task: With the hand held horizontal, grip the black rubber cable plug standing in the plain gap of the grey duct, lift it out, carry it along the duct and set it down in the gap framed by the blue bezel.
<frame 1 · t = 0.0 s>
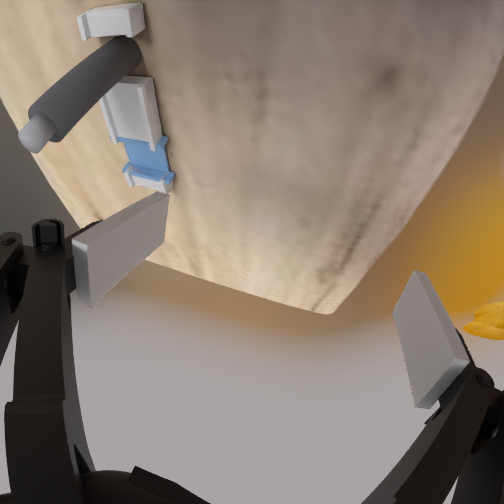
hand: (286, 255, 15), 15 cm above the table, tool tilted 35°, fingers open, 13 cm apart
cable plug: (123, 53, 22), on the table
duct: (134, 107, 29), on the table
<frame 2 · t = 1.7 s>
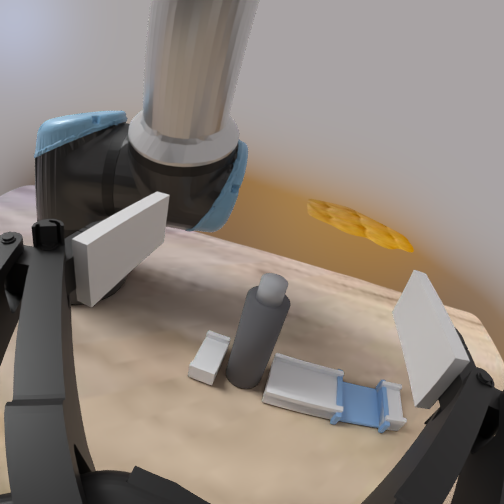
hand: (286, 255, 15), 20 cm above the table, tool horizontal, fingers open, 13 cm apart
cable plug: (243, 374, 33), on the table
duct: (302, 391, 32), on the table
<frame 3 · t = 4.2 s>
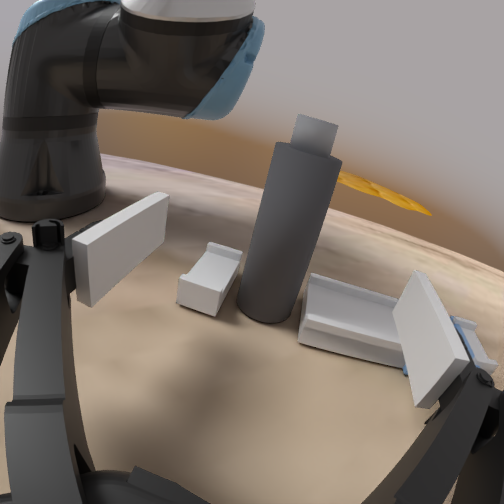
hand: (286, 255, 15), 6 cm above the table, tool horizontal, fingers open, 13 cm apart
cable plug: (264, 304, 22), on the table
duct: (354, 330, 21), on the table
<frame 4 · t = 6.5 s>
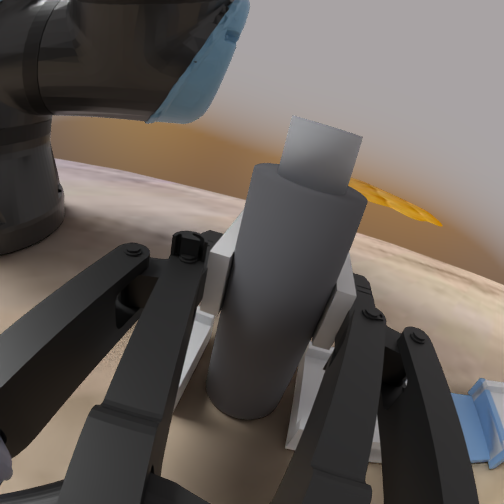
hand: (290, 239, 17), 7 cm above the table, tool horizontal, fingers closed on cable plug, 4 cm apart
cable plug: (243, 388, 15), on the table, touching gripper
duct: (363, 417, 14), on the table
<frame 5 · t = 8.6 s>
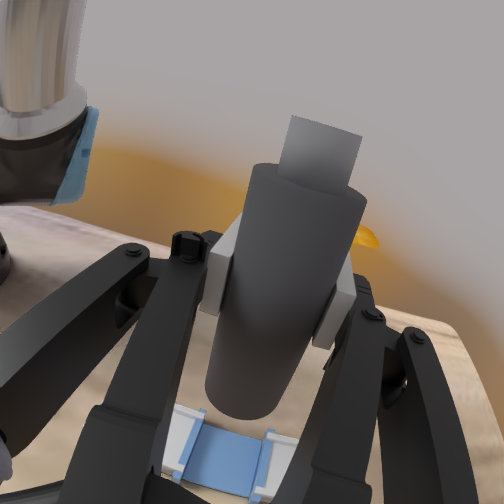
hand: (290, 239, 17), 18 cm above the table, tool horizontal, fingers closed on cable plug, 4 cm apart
cable plug: (242, 388, 15), point 12 cm above the table, touching gripper
duct: (145, 432, 21), on the table
when the fingers open (7 cm above the table, at t = 10.9 s): cable plug stays where it is, resting on duct.
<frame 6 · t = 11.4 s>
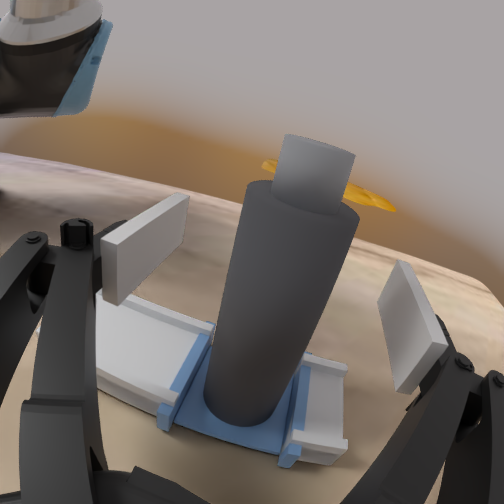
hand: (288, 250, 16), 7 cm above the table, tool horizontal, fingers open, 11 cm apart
cable plug: (240, 396, 15), resting on duct
duct: (125, 354, 16), on the table
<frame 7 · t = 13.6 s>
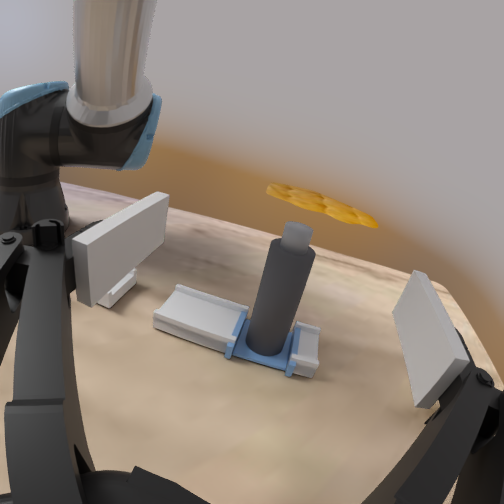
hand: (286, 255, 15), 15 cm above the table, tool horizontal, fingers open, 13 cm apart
cable plug: (264, 342, 31), resting on duct
duct: (201, 324, 32), on the table
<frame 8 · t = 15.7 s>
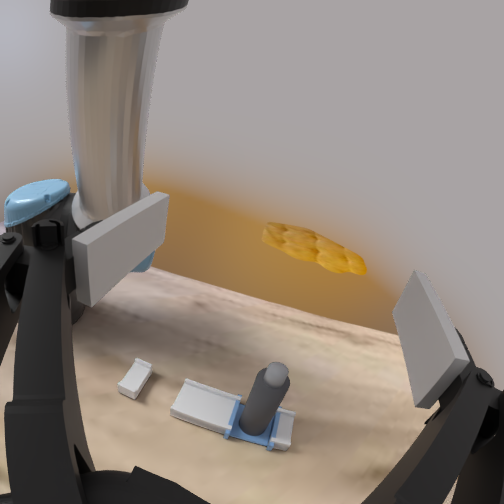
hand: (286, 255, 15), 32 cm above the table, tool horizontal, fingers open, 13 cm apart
cable plug: (252, 424, 38), resting on duct
duct: (205, 410, 39), on the table
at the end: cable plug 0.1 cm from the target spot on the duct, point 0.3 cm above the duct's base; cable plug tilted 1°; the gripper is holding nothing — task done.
